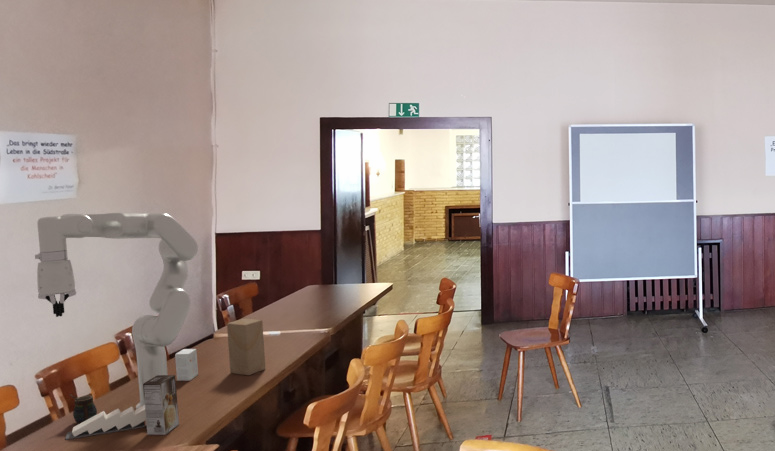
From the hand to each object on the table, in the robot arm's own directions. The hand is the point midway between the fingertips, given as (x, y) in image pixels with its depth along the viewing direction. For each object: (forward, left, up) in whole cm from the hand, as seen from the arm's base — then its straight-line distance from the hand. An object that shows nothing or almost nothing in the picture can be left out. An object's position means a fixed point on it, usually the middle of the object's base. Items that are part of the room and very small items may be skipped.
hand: (59, 315), depth 222 cm
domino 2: (+3, +6, -36) cm, 37 cm away
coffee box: (+11, +28, -37) cm, 48 cm away
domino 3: (+3, +10, -36) cm, 38 cm away
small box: (-46, +39, -37) cm, 71 cm away
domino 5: (+3, +18, -36) cm, 40 cm away
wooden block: (-43, +62, -37) cm, 84 cm away
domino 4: (+3, +14, -36) cm, 39 cm away
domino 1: (+3, +2, -36) cm, 36 cm away
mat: (+3, +11, -37) cm, 39 cm away
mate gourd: (-9, +4, -37) cm, 39 cm away
